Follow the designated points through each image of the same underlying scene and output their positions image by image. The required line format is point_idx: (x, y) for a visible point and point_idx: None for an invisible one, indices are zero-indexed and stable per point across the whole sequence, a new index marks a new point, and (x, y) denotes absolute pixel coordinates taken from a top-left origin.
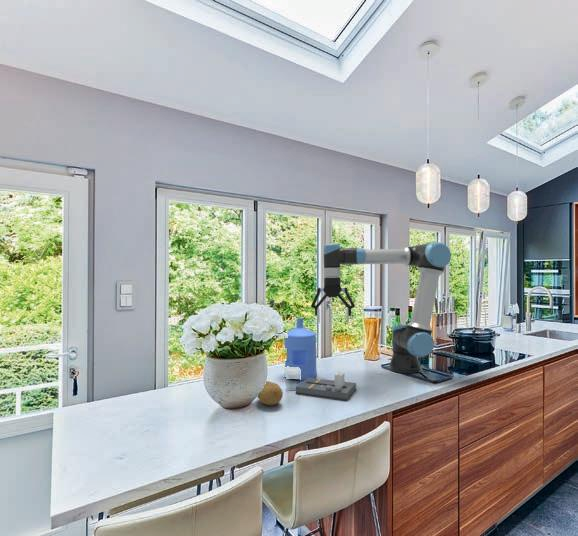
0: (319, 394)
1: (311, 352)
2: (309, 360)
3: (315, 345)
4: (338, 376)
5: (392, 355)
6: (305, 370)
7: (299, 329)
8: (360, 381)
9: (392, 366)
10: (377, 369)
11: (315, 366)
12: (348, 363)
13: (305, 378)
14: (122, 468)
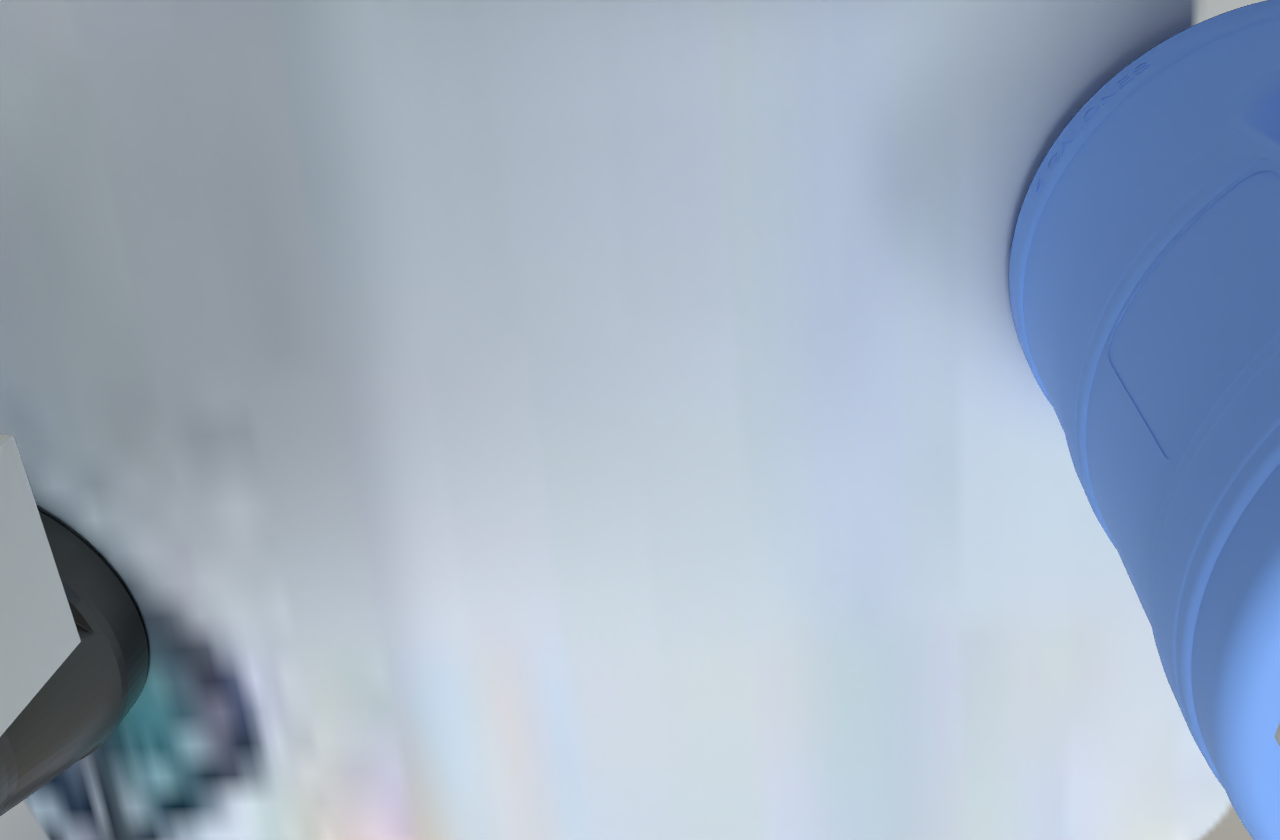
0: None
1: (1223, 243)
2: (1220, 143)
3: (1151, 454)
4: None
5: (22, 739)
6: (1245, 54)
7: None
8: (384, 111)
9: (68, 588)
10: (269, 604)
11: (1057, 254)
12: (618, 790)
13: (1201, 22)
14: None
